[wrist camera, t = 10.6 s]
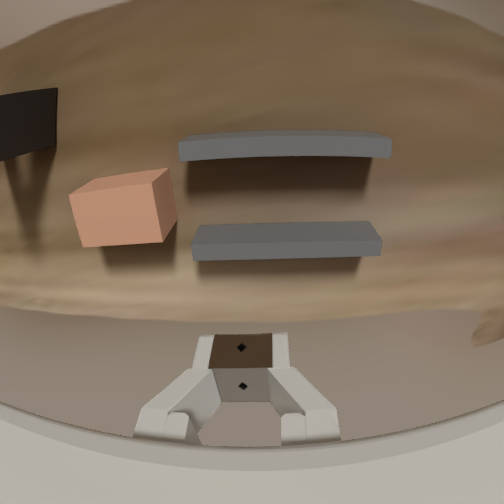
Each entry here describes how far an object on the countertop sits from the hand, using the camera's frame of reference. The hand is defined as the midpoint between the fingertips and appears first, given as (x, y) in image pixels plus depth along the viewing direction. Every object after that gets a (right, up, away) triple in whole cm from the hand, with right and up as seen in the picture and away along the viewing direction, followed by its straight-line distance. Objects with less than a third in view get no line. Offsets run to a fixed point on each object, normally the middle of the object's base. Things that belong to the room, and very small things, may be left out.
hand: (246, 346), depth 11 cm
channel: (+3, +9, +17) cm, 19 cm away
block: (-11, +8, +18) cm, 23 cm away
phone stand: (-23, +17, +14) cm, 32 cm away
